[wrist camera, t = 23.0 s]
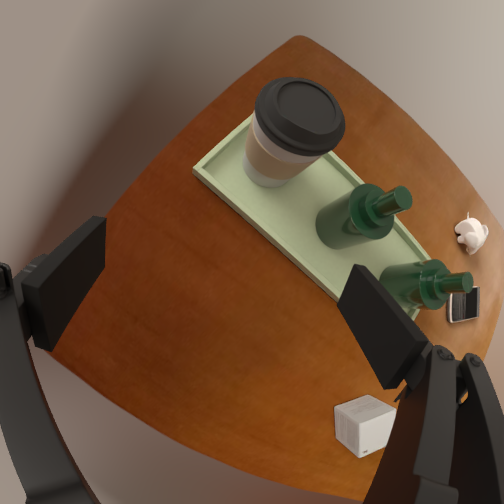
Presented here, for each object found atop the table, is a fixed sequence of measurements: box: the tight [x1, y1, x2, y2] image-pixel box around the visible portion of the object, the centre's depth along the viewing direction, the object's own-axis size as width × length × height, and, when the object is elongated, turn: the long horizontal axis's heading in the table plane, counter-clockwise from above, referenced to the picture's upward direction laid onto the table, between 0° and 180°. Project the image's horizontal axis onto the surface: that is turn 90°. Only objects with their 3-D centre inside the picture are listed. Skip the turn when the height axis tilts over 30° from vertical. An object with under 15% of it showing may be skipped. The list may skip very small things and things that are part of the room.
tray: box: [193, 114, 431, 321], centre depth 39 cm, size 38×16×2 cm, turn 50°
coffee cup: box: [243, 77, 345, 188], centre depth 31 cm, size 9×9×15 cm
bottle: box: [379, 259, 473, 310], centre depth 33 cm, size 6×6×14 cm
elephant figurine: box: [455, 213, 489, 254], centre depth 43 cm, size 7×8×6 cm
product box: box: [334, 395, 396, 458], centre depth 33 cm, size 6×6×7 cm
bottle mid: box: [315, 184, 412, 250], centre depth 32 cm, size 6×6×14 cm
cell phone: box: [447, 286, 480, 323], centre depth 43 cm, size 6×11×1 cm, turn 89°
